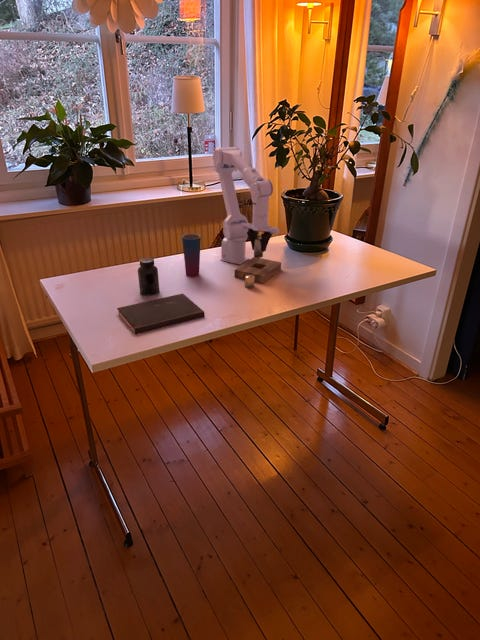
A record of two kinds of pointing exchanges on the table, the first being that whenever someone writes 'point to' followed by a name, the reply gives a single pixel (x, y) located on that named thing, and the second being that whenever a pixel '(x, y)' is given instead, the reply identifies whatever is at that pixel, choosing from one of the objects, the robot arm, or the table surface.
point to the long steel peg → (258, 247)
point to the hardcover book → (160, 313)
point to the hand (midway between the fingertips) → (259, 250)
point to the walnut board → (258, 269)
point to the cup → (191, 253)
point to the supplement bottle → (148, 277)
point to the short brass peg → (249, 281)
